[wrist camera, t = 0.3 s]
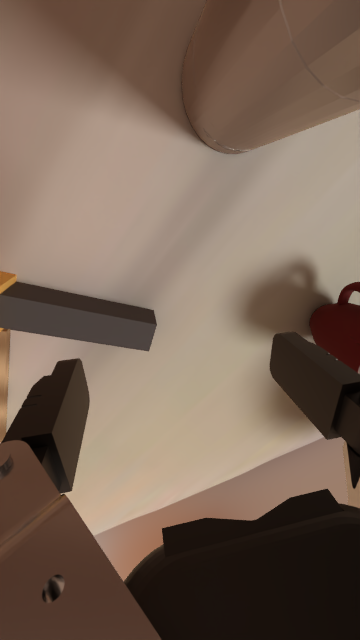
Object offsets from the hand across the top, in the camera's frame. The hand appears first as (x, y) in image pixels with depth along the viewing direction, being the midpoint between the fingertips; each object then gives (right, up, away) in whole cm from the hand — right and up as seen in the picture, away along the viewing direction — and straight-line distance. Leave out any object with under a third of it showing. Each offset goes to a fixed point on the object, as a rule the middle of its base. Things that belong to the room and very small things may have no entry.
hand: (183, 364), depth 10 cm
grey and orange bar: (-12, +3, +16) cm, 20 cm away
